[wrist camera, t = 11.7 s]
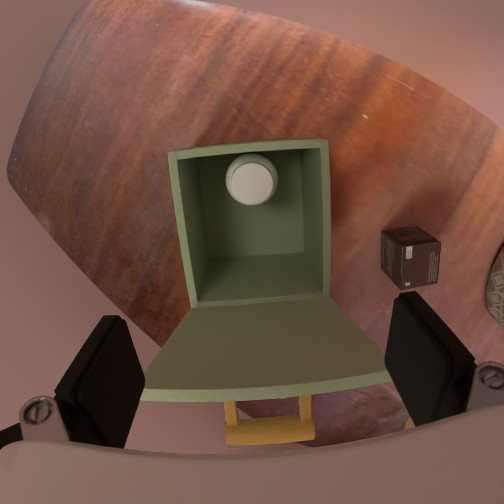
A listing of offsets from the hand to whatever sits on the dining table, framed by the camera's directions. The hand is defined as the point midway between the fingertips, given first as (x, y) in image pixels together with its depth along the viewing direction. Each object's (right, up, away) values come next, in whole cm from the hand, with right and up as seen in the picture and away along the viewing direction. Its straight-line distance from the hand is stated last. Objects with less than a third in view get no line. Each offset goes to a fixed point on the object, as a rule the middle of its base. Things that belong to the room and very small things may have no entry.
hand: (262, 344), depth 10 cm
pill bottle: (0, +13, +28) cm, 31 cm away
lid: (0, -3, +13) cm, 13 cm away
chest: (0, +9, +30) cm, 31 cm away
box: (+21, +4, +33) cm, 39 cm away
